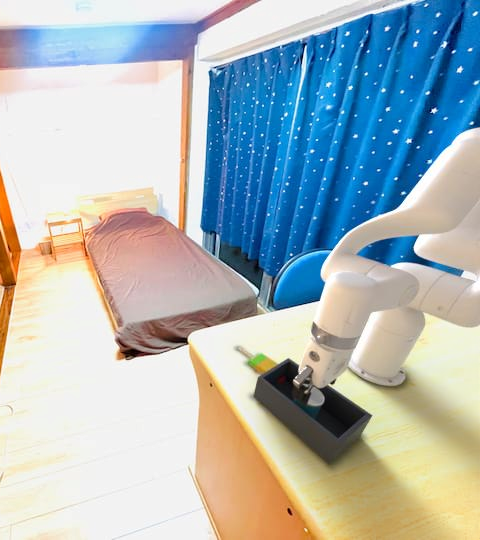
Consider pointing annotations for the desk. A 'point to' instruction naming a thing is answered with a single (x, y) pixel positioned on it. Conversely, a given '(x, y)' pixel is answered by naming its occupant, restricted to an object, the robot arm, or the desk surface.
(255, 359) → the popsicle
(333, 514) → the desk surface
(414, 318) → the robot arm
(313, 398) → the paper cup
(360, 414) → the bin
